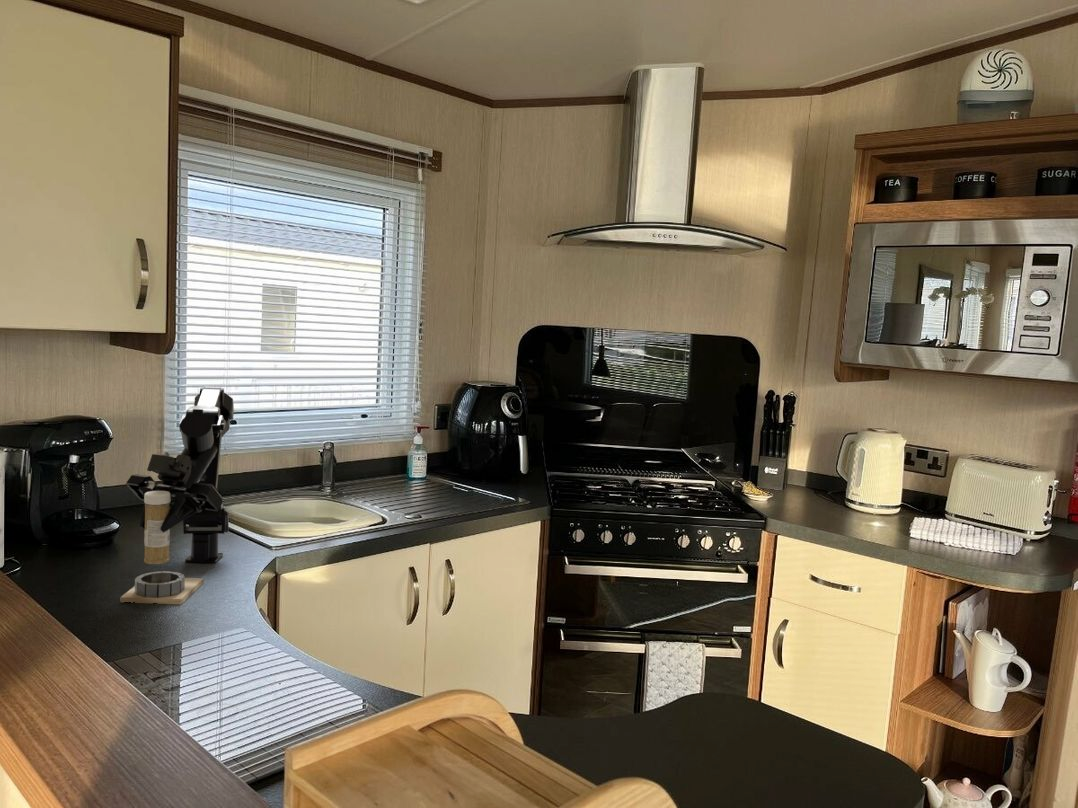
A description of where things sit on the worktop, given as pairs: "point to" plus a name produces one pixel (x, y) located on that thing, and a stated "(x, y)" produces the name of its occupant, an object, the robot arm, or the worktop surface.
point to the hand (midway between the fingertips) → (152, 529)
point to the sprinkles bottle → (156, 527)
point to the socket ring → (159, 584)
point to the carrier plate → (190, 588)
